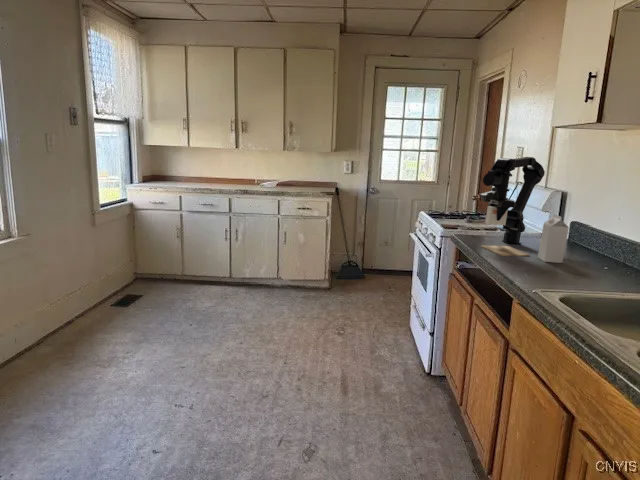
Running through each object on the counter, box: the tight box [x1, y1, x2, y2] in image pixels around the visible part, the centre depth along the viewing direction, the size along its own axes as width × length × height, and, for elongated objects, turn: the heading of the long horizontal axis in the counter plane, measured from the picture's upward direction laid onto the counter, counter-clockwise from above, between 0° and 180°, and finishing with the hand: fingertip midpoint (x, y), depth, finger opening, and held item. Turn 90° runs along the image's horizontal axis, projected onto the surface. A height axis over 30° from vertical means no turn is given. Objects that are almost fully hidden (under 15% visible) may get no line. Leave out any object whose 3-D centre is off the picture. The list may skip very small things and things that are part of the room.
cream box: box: [484, 205, 509, 226], centre depth 200 cm, size 8×4×8 cm, turn 95°
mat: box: [480, 244, 531, 257], centre depth 193 cm, size 14×16×1 cm
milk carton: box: [537, 213, 570, 264], centre depth 179 cm, size 7×7×19 cm
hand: (496, 219), depth 201 cm, fingers closed on cream box, 3 cm apart
